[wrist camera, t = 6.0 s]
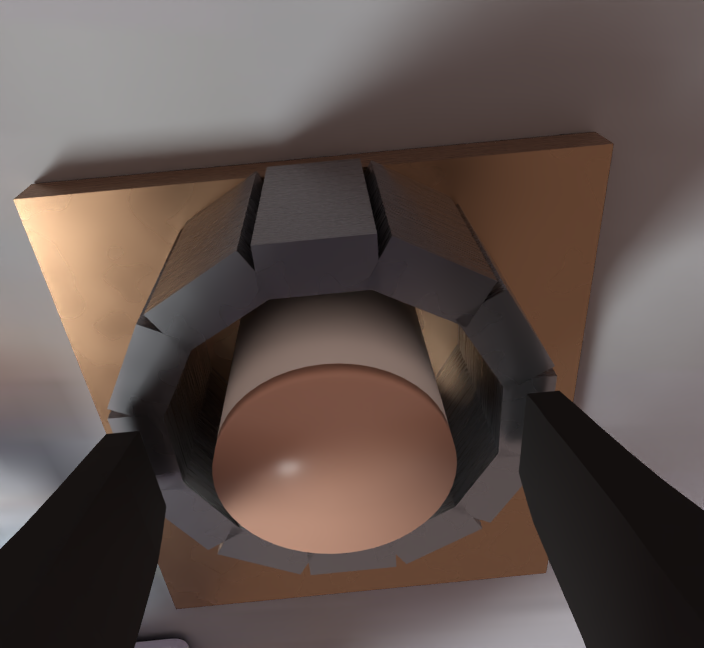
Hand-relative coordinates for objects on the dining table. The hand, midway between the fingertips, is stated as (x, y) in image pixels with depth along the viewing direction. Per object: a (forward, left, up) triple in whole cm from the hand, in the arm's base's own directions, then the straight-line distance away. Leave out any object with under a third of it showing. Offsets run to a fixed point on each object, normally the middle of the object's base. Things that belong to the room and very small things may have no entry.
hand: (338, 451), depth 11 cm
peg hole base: (-3, 0, -5) cm, 6 cm away
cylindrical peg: (0, 0, -4) cm, 4 cm away
